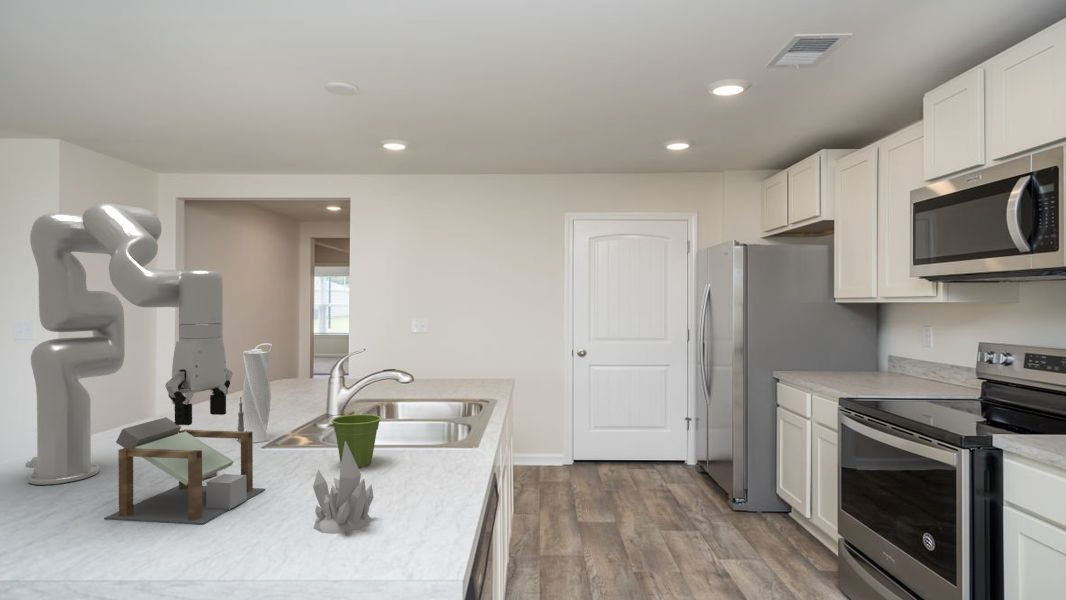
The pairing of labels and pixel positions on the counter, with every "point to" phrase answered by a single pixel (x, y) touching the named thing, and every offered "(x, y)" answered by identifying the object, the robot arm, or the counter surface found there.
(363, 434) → the plant pot
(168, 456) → the frame
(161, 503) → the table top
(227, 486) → the stone block
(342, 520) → the crystal
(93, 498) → the counter surface
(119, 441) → the trapdoor
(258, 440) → the skyscraper
